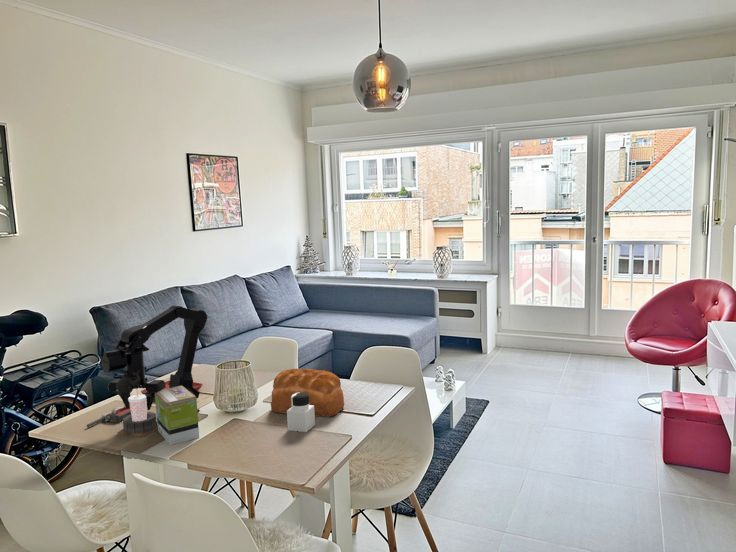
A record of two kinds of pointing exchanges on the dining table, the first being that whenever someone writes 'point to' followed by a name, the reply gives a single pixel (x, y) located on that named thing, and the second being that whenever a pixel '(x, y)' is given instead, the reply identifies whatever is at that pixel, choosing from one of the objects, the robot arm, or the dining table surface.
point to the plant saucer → (195, 386)
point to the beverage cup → (138, 407)
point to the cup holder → (139, 426)
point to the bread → (308, 390)
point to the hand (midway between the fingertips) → (138, 409)
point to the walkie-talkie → (113, 415)
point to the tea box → (177, 414)
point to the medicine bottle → (300, 413)
